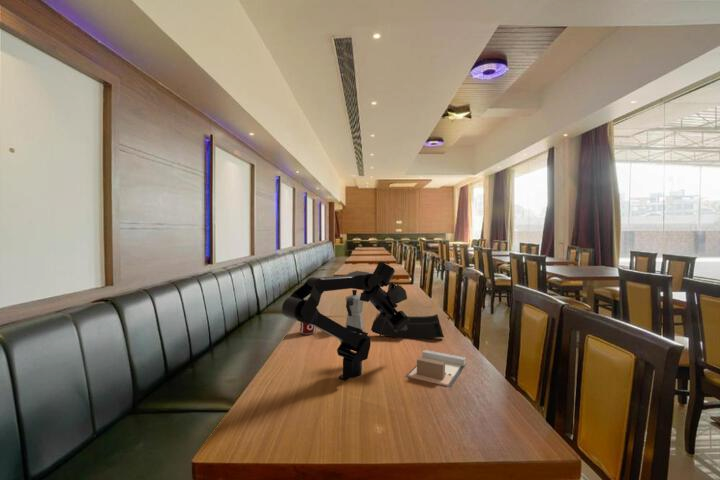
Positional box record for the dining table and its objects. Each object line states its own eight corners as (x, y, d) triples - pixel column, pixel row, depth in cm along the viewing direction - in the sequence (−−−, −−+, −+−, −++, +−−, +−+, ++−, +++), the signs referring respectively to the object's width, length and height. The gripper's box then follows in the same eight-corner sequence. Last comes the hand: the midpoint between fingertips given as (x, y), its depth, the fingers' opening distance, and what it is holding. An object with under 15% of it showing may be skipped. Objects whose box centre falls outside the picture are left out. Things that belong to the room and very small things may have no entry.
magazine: (449, 317, 142) (381, 294, 145) (450, 319, 138) (381, 296, 142) (436, 354, 143) (370, 331, 146) (437, 357, 139) (369, 334, 143)
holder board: (451, 391, 94) (451, 378, 94) (404, 380, 101) (405, 368, 101) (466, 367, 112) (466, 355, 112) (426, 358, 119) (426, 348, 119)
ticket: (453, 378, 100) (453, 375, 100) (415, 369, 106) (415, 367, 106) (462, 363, 111) (463, 361, 111) (428, 357, 117) (428, 354, 117)
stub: (447, 386, 95) (448, 368, 95) (408, 377, 101) (408, 360, 101) (453, 378, 100) (453, 361, 100) (415, 369, 106) (415, 354, 106)
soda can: (308, 330, 153) (308, 303, 152) (318, 332, 148) (318, 306, 148) (297, 333, 147) (297, 306, 147) (307, 336, 143) (307, 308, 143)
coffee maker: (351, 323, 163) (351, 287, 163) (367, 325, 160) (368, 288, 160) (338, 332, 149) (338, 292, 149) (356, 334, 146) (356, 293, 146)
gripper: (410, 295, 104) (431, 321, 112) (383, 268, 119) (403, 293, 128) (384, 319, 103) (407, 344, 112) (360, 289, 119) (381, 313, 127)
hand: (399, 321), depth 120 cm, fingers open, 9 cm apart
